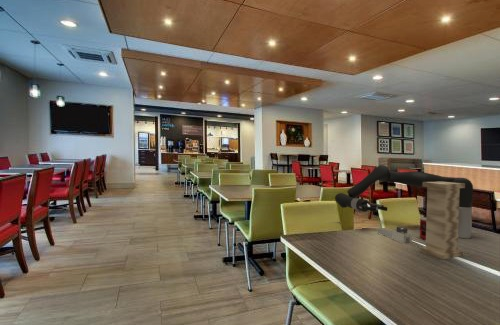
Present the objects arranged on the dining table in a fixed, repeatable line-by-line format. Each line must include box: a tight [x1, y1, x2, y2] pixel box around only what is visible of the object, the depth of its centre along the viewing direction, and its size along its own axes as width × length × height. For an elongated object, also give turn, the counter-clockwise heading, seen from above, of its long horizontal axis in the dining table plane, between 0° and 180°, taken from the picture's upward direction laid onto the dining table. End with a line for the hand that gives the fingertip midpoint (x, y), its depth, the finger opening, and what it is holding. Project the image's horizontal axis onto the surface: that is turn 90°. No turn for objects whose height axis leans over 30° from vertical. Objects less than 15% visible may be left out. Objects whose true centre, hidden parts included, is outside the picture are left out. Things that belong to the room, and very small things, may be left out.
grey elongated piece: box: [377, 226, 413, 244], centre depth 149 cm, size 6×18×7 cm, turn 22°
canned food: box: [419, 216, 427, 241], centre depth 148 cm, size 8×8×11 cm
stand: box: [419, 182, 465, 261], centre depth 125 cm, size 14×10×33 cm
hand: (381, 209), depth 156 cm, fingers open, 8 cm apart
